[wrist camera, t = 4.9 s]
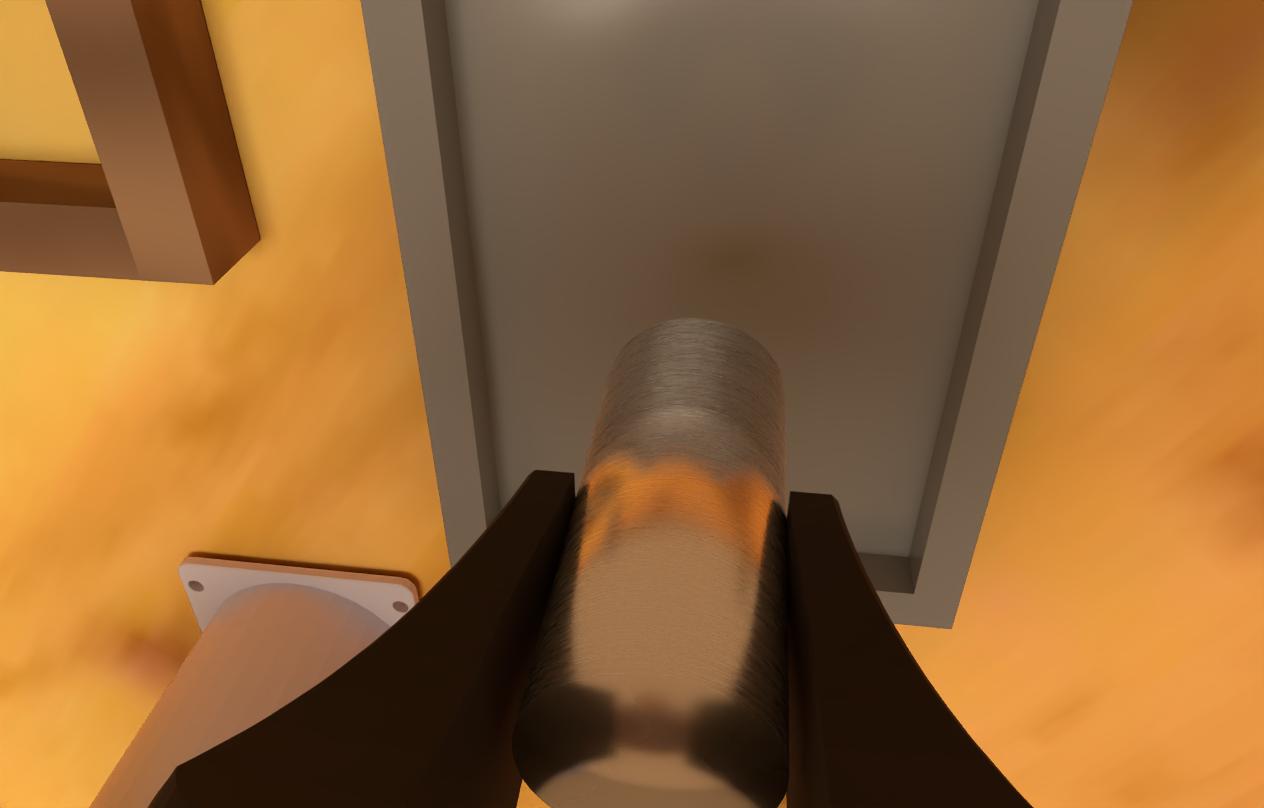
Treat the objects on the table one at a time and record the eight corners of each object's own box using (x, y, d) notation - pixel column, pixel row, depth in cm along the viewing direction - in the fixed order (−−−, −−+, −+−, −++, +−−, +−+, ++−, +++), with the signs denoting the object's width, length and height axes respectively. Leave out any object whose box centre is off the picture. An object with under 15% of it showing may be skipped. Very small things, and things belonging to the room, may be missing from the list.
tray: (941, 576, 27) (951, 629, 26) (471, 532, 29) (452, 580, 27) (1169, -276, 16) (1213, -278, 14) (361, -274, 17) (316, -275, 16)
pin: (783, 467, 18) (785, 853, 11) (614, 463, 18) (530, 833, 12) (788, 318, 16) (794, 685, 10) (600, 317, 16) (492, 667, 10)
